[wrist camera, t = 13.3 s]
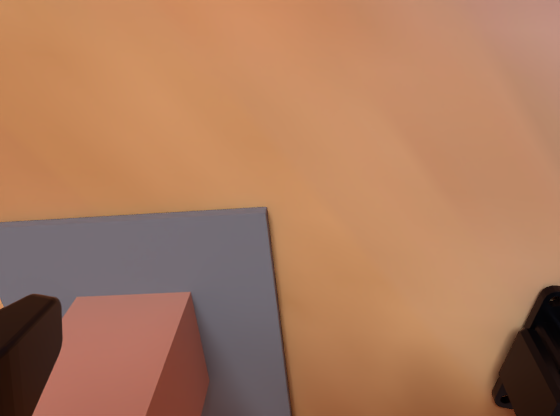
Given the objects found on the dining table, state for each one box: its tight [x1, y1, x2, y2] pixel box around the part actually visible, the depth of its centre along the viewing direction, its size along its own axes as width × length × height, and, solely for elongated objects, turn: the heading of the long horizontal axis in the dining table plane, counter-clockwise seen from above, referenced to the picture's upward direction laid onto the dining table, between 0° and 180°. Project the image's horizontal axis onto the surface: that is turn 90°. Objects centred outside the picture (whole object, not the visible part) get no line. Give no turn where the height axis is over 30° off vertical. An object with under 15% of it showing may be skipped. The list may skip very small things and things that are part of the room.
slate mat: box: [0, 207, 292, 416], centre depth 23 cm, size 12×12×1 cm
